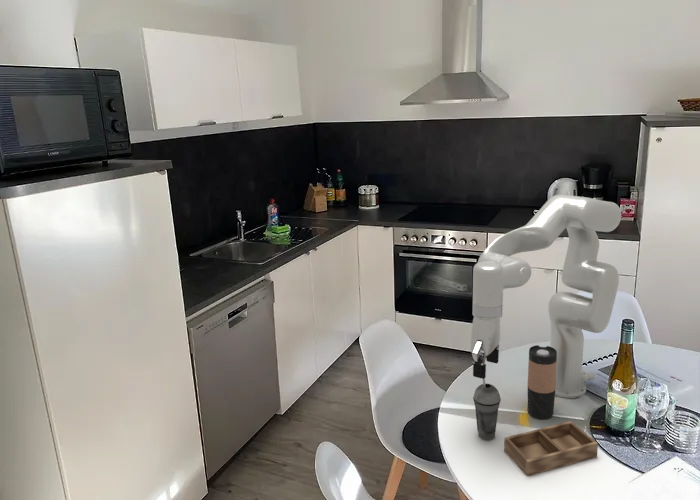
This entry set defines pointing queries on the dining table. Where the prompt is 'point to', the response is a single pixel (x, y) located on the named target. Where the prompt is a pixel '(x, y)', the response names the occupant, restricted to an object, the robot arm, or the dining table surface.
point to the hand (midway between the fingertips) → (485, 369)
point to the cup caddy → (550, 448)
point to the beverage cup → (486, 410)
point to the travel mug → (541, 381)
